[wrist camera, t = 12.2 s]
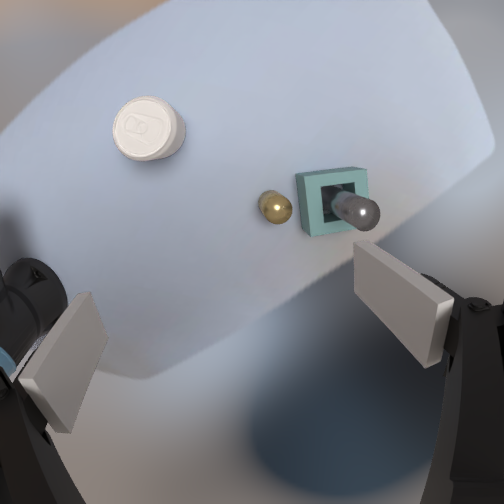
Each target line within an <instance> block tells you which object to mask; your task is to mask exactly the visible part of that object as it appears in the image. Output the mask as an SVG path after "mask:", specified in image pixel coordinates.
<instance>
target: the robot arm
mask: <svg viewBox="0 0 504 504" xmlns="http://www.w3.org/2000/svg"><path fill="white" fill-rule="evenodd" d="M353 245H354V292H355V293H356V294H357V295H358V296H359V297H360V298H361V299H362V301H363V302H364V303H365V304H366V305H367V306H368V307H369V308H370V309H371V310H372V311H373V312H374V313H375V314H376V315H377V316H378V317H379V319H381V321H382V322H383V323H384V324H385V325H386V326H387V327H388V328H389V329H390V330H391V331H392V332H393V334H394V335H395V336H396V337H397V338H398V339H399V340H400V341H401V342H402V343H403V344H404V345H405V347H407V349H408V350H409V351H410V352H411V353H412V354H413V355H414V357H415V358H416V359H417V360H418V361H419V362H420V363H421V364H422V365H423V367H424V368H427V367H429V366H432V365H434V364H436V363H438V362H440V361H441V357H442V353H443V350H444V349H445V350H446V351H447V352H448V353H449V358H448V361H447V365H446V368H445V372H444V375H443V376H445V377H446V383H445V392H444V400H443V407H442V413H441V420H440V426H439V431H438V436H437V441H436V446H435V450H434V455H433V459H432V463H431V468H430V471H429V475H428V479H427V482H426V486H425V489H424V492H423V495H422V499H421V502H420V504H504V302H503V304H502V305H496V306H492V305H491V304H490V303H489V302H488V301H487V300H484V299H482V298H477V297H470V298H467V299H464V298H462V297H461V296H459V295H458V294H457V293H455V292H454V291H452V290H451V289H449V288H448V287H446V286H445V285H443V284H442V283H440V282H439V281H437V280H436V279H434V278H433V277H431V276H428V275H425V274H419V273H417V272H416V271H414V270H413V269H411V268H410V267H408V266H407V265H405V264H404V263H402V262H401V261H399V260H398V259H396V258H395V257H393V256H391V255H390V254H389V253H387V252H385V251H384V250H382V249H381V248H379V247H378V246H376V245H374V244H373V243H371V242H370V241H368V240H363V241H358V242H353ZM47 333H48V334H47ZM45 334H47V336H46V337H45V339H44V340H43V341H42V343H41V344H40V346H39V347H38V348H37V349H36V350H35V351H33V353H32V354H31V356H30V357H29V358H28V361H26V363H25V365H24V367H22V369H21V371H20V372H19V374H18V375H17V377H16V378H15V380H14V382H13V383H12V382H11V380H10V379H9V377H10V375H11V374H12V373H14V372H15V371H16V367H17V366H18V365H19V363H20V362H21V360H22V359H23V358H24V356H25V355H26V353H27V352H28V351H29V349H30V348H31V347H32V345H33V344H34V342H35V341H36V340H37V338H39V337H41V336H43V335H45ZM107 341H108V335H107V333H106V331H105V328H104V326H103V323H102V321H101V318H100V316H99V313H98V311H97V308H96V306H95V303H94V300H93V298H92V295H91V292H85V293H79V294H77V295H76V297H75V298H74V299H73V301H72V302H71V303H70V305H69V306H68V307H67V298H66V294H65V290H64V288H63V286H62V284H61V282H60V280H59V278H58V277H57V276H56V274H55V273H54V272H53V271H52V270H51V269H50V268H49V267H48V266H47V265H45V264H44V263H43V262H41V261H39V260H36V259H33V258H23V259H20V260H18V261H17V262H15V263H14V264H13V265H11V266H10V267H9V268H8V270H7V271H6V273H5V275H4V277H3V276H2V273H1V270H0V504H86V503H85V501H84V500H83V498H82V496H81V494H80V493H79V491H78V489H77V488H76V486H75V484H74V483H73V481H72V479H71V477H70V475H69V473H68V472H67V470H66V468H65V466H64V464H63V462H62V460H61V458H60V456H59V454H58V452H57V450H56V448H55V446H54V443H53V441H52V439H51V437H50V435H49V434H48V432H47V431H46V430H45V427H46V425H47V423H49V424H50V426H51V427H52V428H53V429H54V431H55V432H57V433H71V432H72V429H73V426H74V423H75V420H76V418H77V415H78V412H79V409H80V407H81V404H82V401H83V399H84V396H85V393H86V391H87V388H88V386H89V383H90V380H91V378H92V375H93V373H94V371H95V369H96V366H97V364H98V361H99V359H100V357H101V354H102V352H103V350H104V347H105V345H106V343H107Z"/></svg>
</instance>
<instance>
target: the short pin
mask: <svg viewBox="0 0 504 504" xmlns="http://www.w3.org/2000/svg"><path fill="white" fill-rule="evenodd" d="M258 205H259V208H260V210H261V211H262V213H263V214H264V216H265V217H266V218H267V220H268V221H269V222H271V223H273V224H282V223H284V222H286V221H287V220H288V219H289V218H290V217H291V214H292V205H291V203H290V201H289V200H288V199H287V198H285V197H284V196H282V195H281V194H280V193H278V192H277V191H273V190H269V191H266V192H264V193H263V194H262V195H261V196H260V198H259V201H258Z"/></svg>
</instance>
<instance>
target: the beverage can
mask: <svg viewBox="0 0 504 504" xmlns="http://www.w3.org/2000/svg"><path fill="white" fill-rule="evenodd" d="M185 134H186V128H185V123H184V120H183V119H182V117H181V116H180V114H179V113H178V112H177V111H176V110H174V109H173V108H172V107H171V106H170V105H169V104H168V103H167V102H166V101H164V100H162V99H160V98H158V97H154V96H141V97H137V98H135V99H133V100H131V101H129V102H128V103H126V104H125V105H124V106H123V107H122V108H121V109H120V111H119V112H118V114H117V115H116V118H115V120H114V124H113V139H114V142H115V144H116V146H117V148H118V149H119V151H120V152H121V153H122V154H123V155H125V156H126V157H128V158H130V159H132V160H136V161H149V160H155V159H161V158H166V157H168V156H170V155H172V154H174V153H175V152H176V151H177V150H178V149H179V148H180V147H181V145H182V143H183V141H184V139H185Z"/></svg>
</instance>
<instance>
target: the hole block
mask: <svg viewBox="0 0 504 504" xmlns="http://www.w3.org/2000/svg"><path fill="white" fill-rule="evenodd" d="M296 182H297V189H298V197H299V206H300V214H301V223H302V229H303V230H304V231H305V232H306V233H307V234H308V235H309V236H310V237H313V236H318V235H324V234H330V233H335V232H341V231H346V230H352V229H357V228H355V227H354V226H352V225H350V224H349V223H347V222H345V221H344V220H342V219H340V218H339V217H337V216H335V215H334V214H332V213H329V214H323V206H322V197H321V186H328V185H336V184H342V185H343V190H346V191H349V192H351V193H354V194H357V195H359V196H362V197H365V198H367V199H369V193H368V180H367V169H363V168H357V167H346V168H337V169H329V170H321V171H313V172H305V173H298V174H296Z"/></svg>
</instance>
